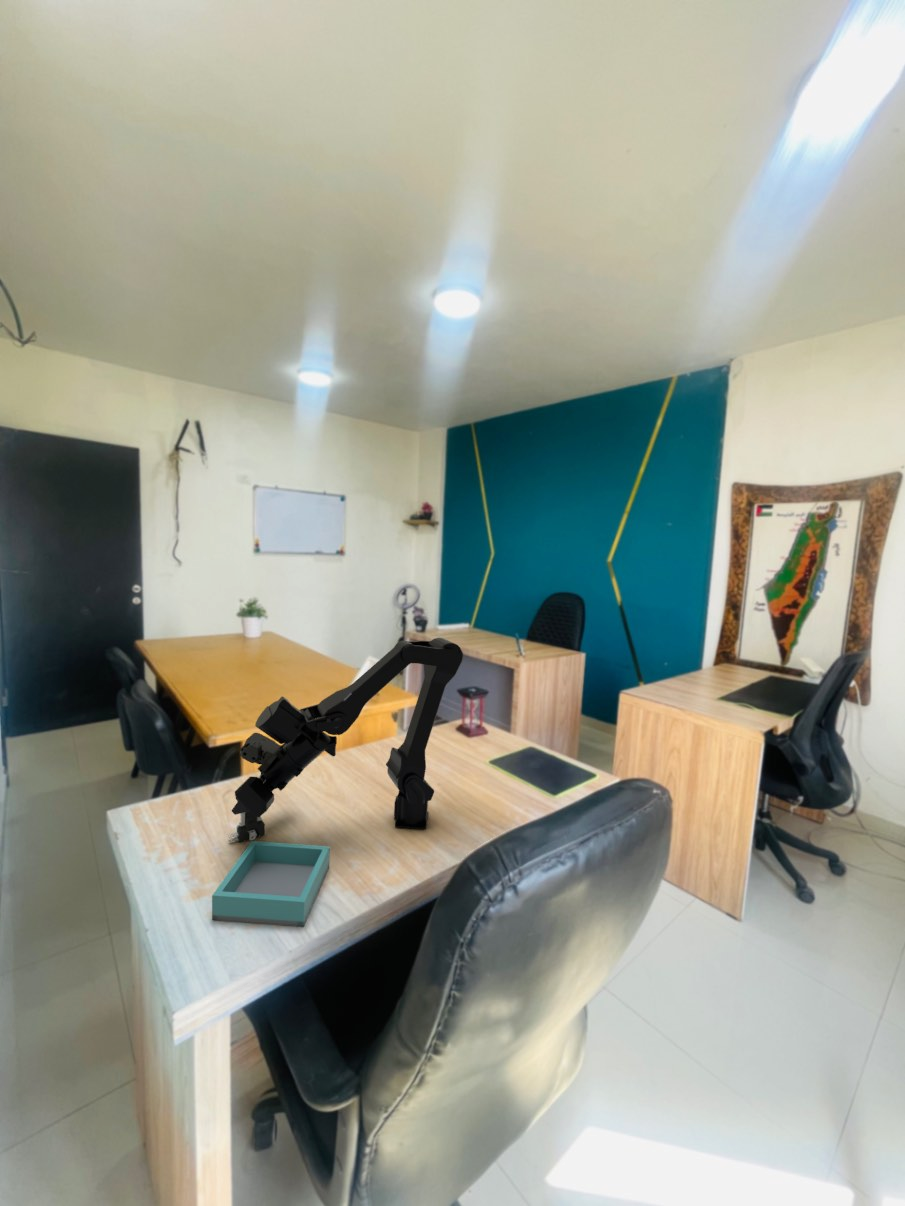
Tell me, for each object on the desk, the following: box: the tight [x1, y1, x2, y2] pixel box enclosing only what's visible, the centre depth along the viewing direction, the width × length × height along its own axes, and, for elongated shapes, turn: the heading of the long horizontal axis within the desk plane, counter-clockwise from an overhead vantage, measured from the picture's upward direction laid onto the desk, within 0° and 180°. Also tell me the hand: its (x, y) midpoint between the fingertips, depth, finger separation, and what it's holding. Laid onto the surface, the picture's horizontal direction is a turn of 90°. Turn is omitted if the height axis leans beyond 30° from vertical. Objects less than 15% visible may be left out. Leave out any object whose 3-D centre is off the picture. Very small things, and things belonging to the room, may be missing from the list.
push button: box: [227, 796, 266, 843], centre depth 96 cm, size 7×5×10 cm
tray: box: [211, 840, 331, 927], centre depth 82 cm, size 14×14×4 cm
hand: (240, 805), depth 96 cm, fingers closed on push button, 5 cm apart
